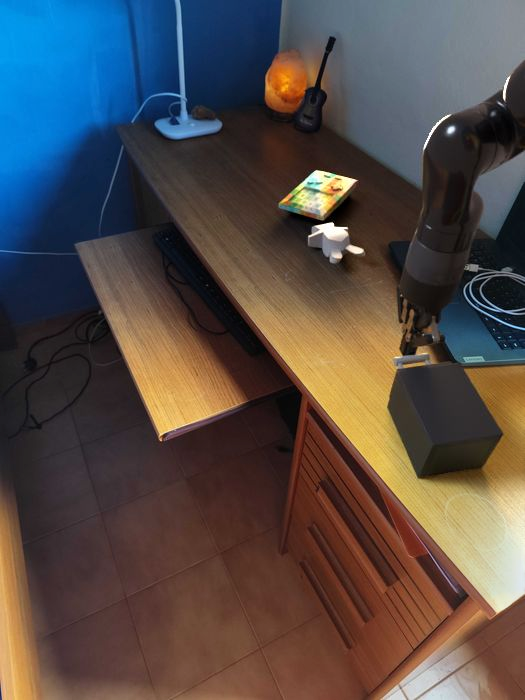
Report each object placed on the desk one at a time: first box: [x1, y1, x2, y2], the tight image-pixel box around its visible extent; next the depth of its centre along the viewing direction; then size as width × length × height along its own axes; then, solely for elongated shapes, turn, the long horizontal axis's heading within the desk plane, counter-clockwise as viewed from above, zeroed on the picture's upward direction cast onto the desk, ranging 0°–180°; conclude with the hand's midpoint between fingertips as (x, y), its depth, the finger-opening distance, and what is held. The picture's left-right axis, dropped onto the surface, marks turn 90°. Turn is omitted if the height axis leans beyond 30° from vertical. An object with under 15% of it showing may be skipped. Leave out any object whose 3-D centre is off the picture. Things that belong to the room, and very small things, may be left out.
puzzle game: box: [277, 169, 359, 222], centre depth 115 cm, size 12×5×20 cm
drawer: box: [388, 352, 453, 399], centre depth 69 cm, size 16×8×7 cm, turn 9°
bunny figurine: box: [307, 222, 366, 264], centre depth 101 cm, size 10×5×15 cm
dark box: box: [386, 362, 504, 479], centre depth 66 cm, size 13×10×9 cm
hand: (406, 352), depth 75 cm, fingers closed
